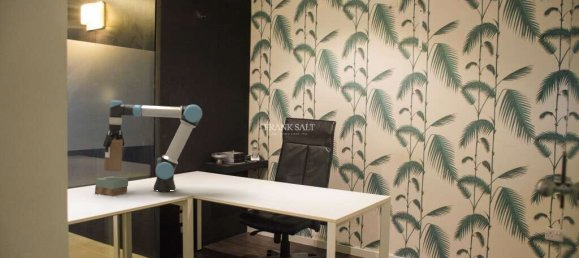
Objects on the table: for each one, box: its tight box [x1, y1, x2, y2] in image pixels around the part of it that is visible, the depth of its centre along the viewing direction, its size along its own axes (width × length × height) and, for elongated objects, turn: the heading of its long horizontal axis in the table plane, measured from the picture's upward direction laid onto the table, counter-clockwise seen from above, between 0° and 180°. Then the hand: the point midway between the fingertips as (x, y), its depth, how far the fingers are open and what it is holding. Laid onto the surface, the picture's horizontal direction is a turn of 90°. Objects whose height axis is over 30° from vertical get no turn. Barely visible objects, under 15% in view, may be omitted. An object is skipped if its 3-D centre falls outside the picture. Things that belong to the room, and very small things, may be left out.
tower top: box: [95, 176, 129, 189], centre depth 282 cm, size 14×14×5 cm
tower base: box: [94, 186, 128, 197], centre depth 282 cm, size 14×14×5 cm
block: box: [103, 138, 123, 172], centre depth 282 cm, size 10×10×20 cm
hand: (113, 156), depth 282 cm, fingers closed on block, 13 cm apart
